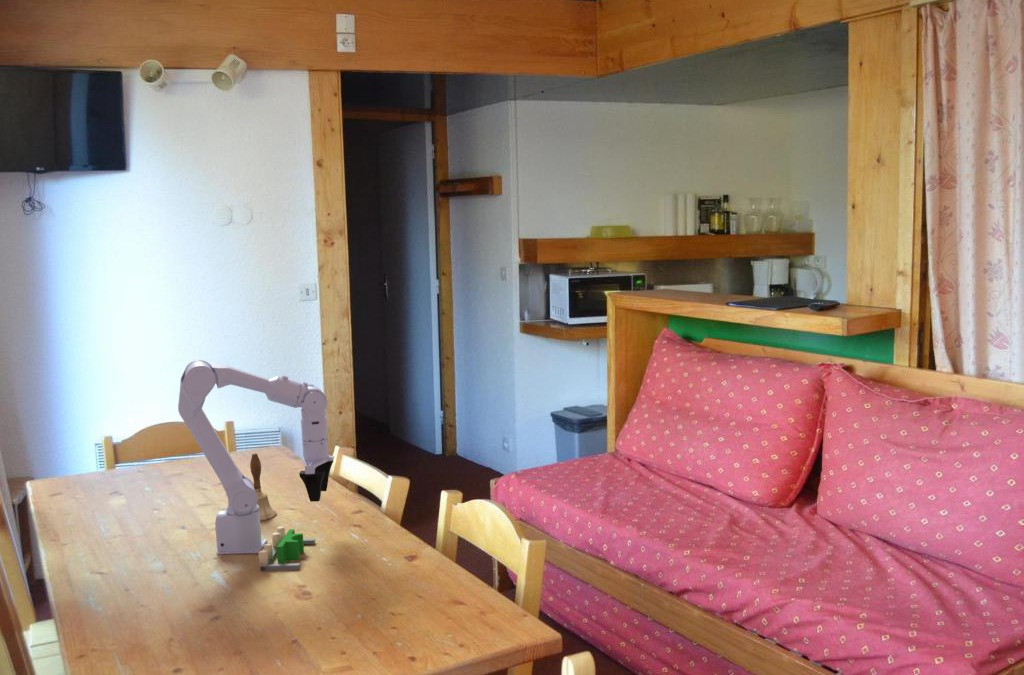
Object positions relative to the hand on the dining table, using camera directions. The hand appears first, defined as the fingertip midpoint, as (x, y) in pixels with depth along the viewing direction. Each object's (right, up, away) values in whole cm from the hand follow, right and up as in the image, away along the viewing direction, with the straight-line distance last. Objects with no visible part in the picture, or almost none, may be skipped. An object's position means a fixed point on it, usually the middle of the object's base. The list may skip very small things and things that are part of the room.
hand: (318, 495), depth 224 cm
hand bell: (-18, -8, +19) cm, 27 cm away
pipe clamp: (-4, -12, -11) cm, 16 cm away
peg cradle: (-4, -12, -10) cm, 16 cm away
